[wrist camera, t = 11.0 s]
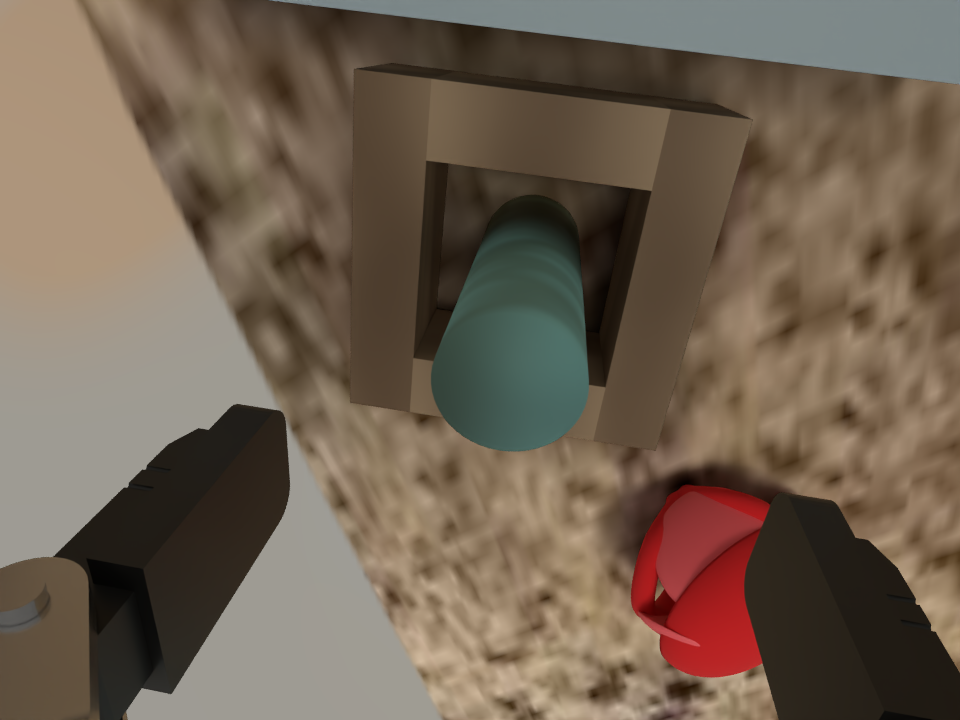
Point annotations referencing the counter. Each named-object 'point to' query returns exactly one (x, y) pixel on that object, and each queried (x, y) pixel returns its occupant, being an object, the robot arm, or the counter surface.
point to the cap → (700, 579)
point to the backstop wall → (728, 28)
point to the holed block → (551, 153)
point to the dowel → (517, 333)
